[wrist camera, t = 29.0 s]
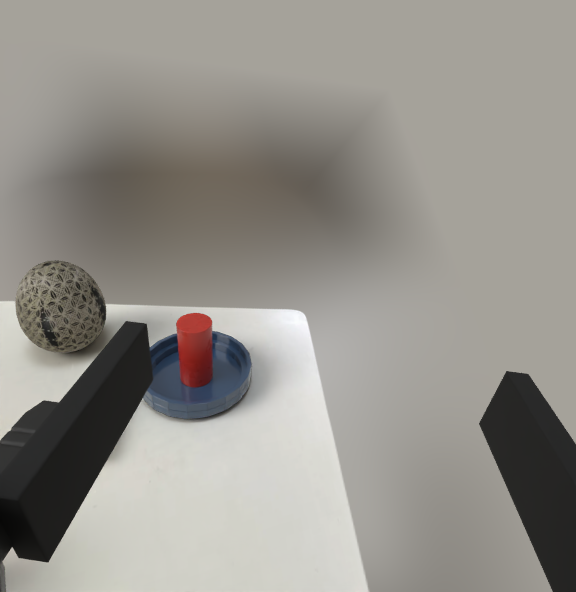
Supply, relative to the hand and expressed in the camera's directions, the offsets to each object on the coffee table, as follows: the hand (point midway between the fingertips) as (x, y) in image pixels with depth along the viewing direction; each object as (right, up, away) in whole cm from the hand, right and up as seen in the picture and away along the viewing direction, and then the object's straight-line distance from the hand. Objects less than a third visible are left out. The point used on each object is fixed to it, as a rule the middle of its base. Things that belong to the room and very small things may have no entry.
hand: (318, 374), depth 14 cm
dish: (-15, -10, +43) cm, 47 cm away
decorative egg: (-37, -5, +47) cm, 60 cm away
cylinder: (-15, -9, +43) cm, 46 cm away
